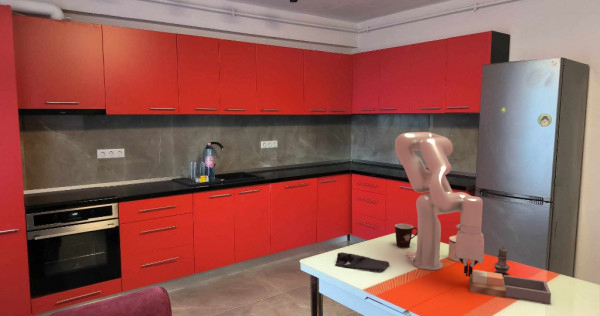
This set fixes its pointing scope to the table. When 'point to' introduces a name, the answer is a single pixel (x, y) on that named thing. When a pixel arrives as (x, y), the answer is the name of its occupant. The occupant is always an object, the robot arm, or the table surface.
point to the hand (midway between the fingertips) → (467, 275)
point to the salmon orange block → (494, 279)
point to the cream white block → (480, 276)
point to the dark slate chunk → (360, 262)
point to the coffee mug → (404, 235)
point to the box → (527, 289)
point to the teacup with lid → (452, 248)
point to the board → (487, 288)
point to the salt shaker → (502, 262)
